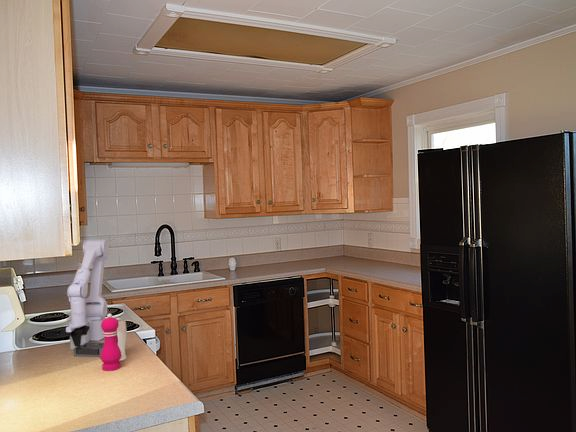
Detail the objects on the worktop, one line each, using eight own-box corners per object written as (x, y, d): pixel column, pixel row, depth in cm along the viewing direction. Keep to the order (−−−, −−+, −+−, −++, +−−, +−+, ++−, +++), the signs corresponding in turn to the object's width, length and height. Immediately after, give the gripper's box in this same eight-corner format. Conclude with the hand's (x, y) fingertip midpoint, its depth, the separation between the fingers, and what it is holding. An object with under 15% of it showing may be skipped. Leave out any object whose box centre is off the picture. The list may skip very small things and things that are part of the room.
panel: (73, 347, 211) (73, 334, 210) (89, 348, 209) (88, 334, 209) (70, 349, 208) (69, 336, 208) (85, 349, 207) (85, 336, 207)
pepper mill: (115, 371, 178) (113, 315, 177) (96, 371, 179) (94, 315, 179) (125, 365, 185) (123, 311, 184) (107, 364, 186) (105, 311, 186)
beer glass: (130, 356, 196) (129, 318, 195) (122, 362, 189) (121, 322, 188) (113, 356, 196) (111, 318, 196) (105, 362, 189) (103, 322, 189)
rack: (87, 349, 207) (86, 341, 207) (113, 350, 205) (113, 342, 205) (74, 356, 198) (73, 347, 198) (101, 357, 196) (101, 348, 196)
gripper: (79, 308, 216) (81, 340, 217) (58, 316, 202) (59, 350, 202) (94, 309, 215) (96, 340, 215) (74, 316, 201) (75, 350, 201)
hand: (79, 345), depth 209 cm, fingers closed on panel, 2 cm apart
